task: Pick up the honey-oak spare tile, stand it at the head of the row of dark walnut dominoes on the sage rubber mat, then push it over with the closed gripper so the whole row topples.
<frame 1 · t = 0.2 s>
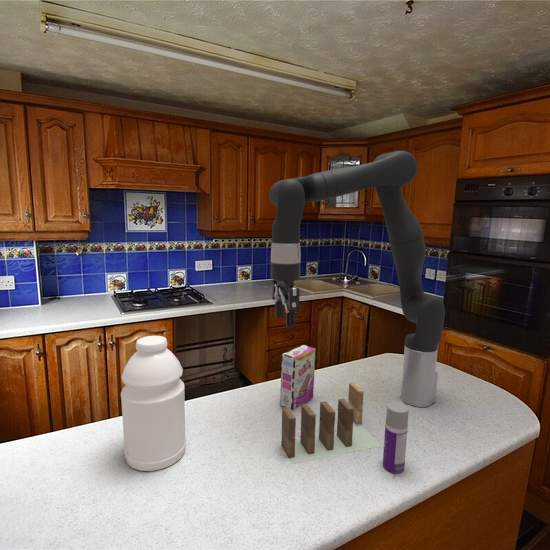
hand: (284, 322, 97), 28 cm above the counter, fingers open, 8 cm apart
domino 1: (354, 420, 104), on the counter
domino 5: (287, 451, 89), resting on mat
container: (393, 469, 84), on the counter
bottle: (156, 453, 89), on the counter
domino 4: (307, 447, 91), resting on mat
domino 2: (344, 440, 94), resting on mat
mat: (329, 444, 93), on the counter
domino 3: (325, 444, 92), resting on mat
candy bar box: (297, 402, 113), on the counter
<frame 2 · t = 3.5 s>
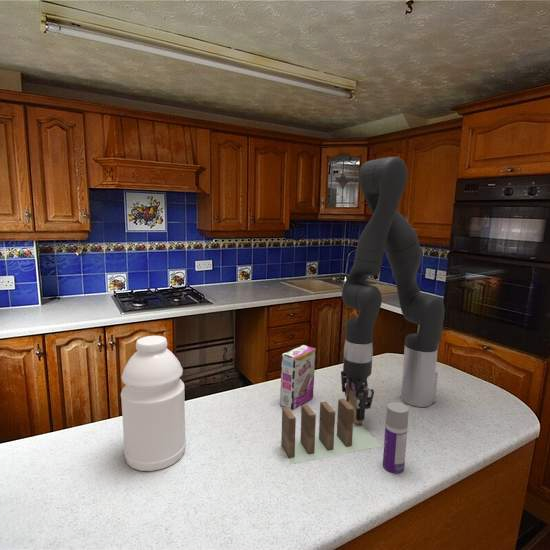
hand: (354, 414, 103), 2 cm above the counter, fingers closed on domino 1, 5 cm apart
domino 1: (354, 420, 104), on the counter, touching gripper
everything else where it was.
when the fingers open (3 cm above the counter, at t = 8.7 s): domino 1 stays where it is, resting on mat.
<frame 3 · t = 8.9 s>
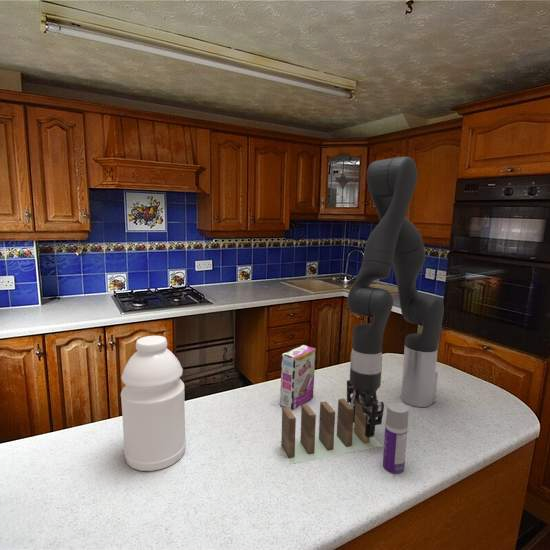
hand: (362, 428, 95), 3 cm above the counter, fingers open, 6 cm apart
domino 1: (361, 437, 95), resting on mat
everything else where it was.
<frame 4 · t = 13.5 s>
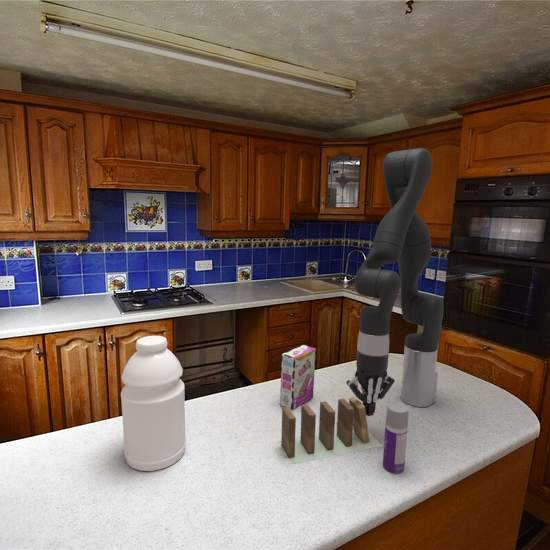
hand: (368, 414, 95), 7 cm above the counter, fingers closed
domino 1: (361, 436, 95), point 1 cm above the counter, tilted 12°, touching mat
everything else where it was.
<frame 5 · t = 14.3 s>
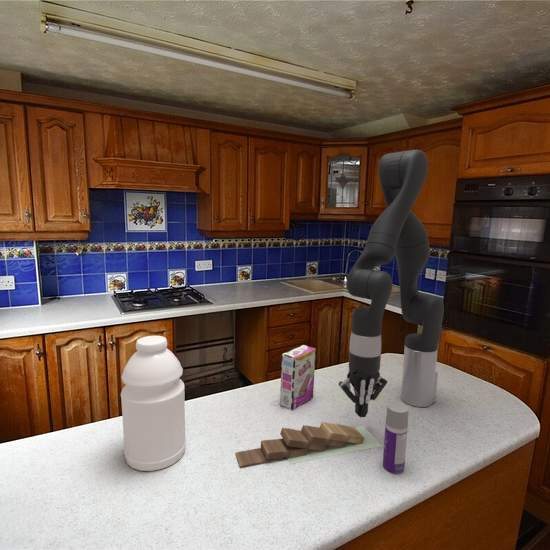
hand: (361, 415, 94), 7 cm above the counter, fingers closed
domino 1: (358, 435, 95), point 1 cm above the counter, tilted 71°, touching domino 2, mat
domino 5: (279, 454, 89), on the counter, tilted 90°
domino 4: (303, 445, 90), point 1 cm above the counter, tilted 85°, touching domino 3, mat
domino 2: (340, 438, 93), point 1 cm above the counter, tilted 71°, touching domino 1, mat
domino 3: (320, 441, 92), point 1 cm above the counter, tilted 71°, touching domino 4
everything else where it was.
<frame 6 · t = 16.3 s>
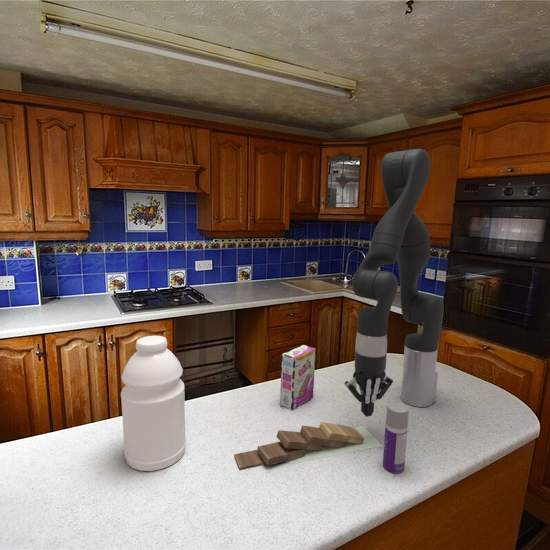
hand: (367, 414, 95), 6 cm above the counter, fingers closed
domino 1: (357, 435, 95), point 1 cm above the counter, tilted 71°, touching domino 2
domino 5: (278, 455, 88), on the counter, tilted 90°, touching domino 4
domino 4: (299, 447, 90), point 1 cm above the counter, tilted 85°, touching domino 3, domino 5, mat
domino 3: (316, 441, 92), point 1 cm above the counter, tilted 71°, touching domino 4
everything else where it was.
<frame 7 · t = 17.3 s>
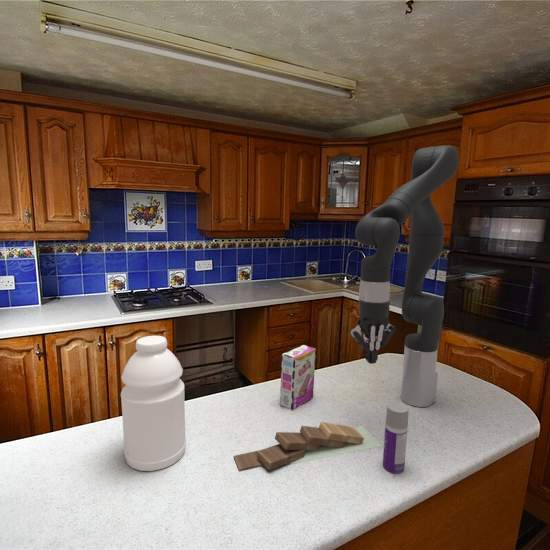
hand: (371, 362, 97), 19 cm above the counter, fingers closed
domino 5: (277, 456, 88), on the counter, tilted 90°
domino 4: (297, 448, 89), point 1 cm above the counter, tilted 85°, touching domino 3, mat
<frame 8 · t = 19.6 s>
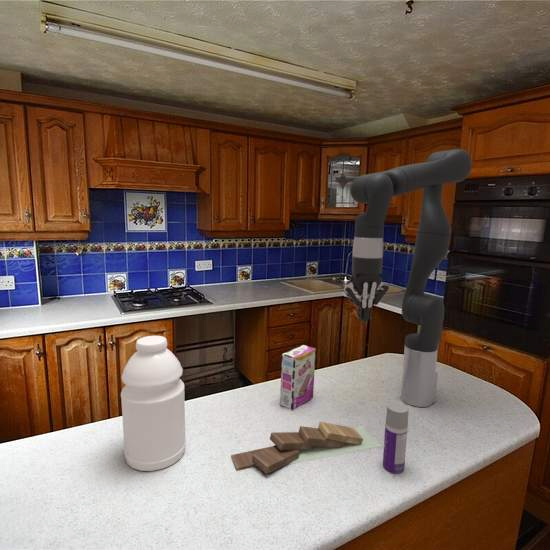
hand: (363, 320, 98), 29 cm above the counter, fingers closed
domino 5: (275, 455, 88), on the counter, tilted 90°, touching domino 4
domino 4: (291, 449, 89), point 1 cm above the counter, tilted 84°, touching domino 5, mat
domino 2: (338, 438, 93), point 1 cm above the counter, tilted 75°, touching domino 1, domino 3, mat
domino 3: (308, 440, 92), point 1 cm above the counter, tilted 73°, touching domino 2, mat
everything else where it was.
at the end: domino 5 tilted 90°; domino 1 tilted 71°; domino 1 5.0 cm from the domino 2 (horizontally) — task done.
